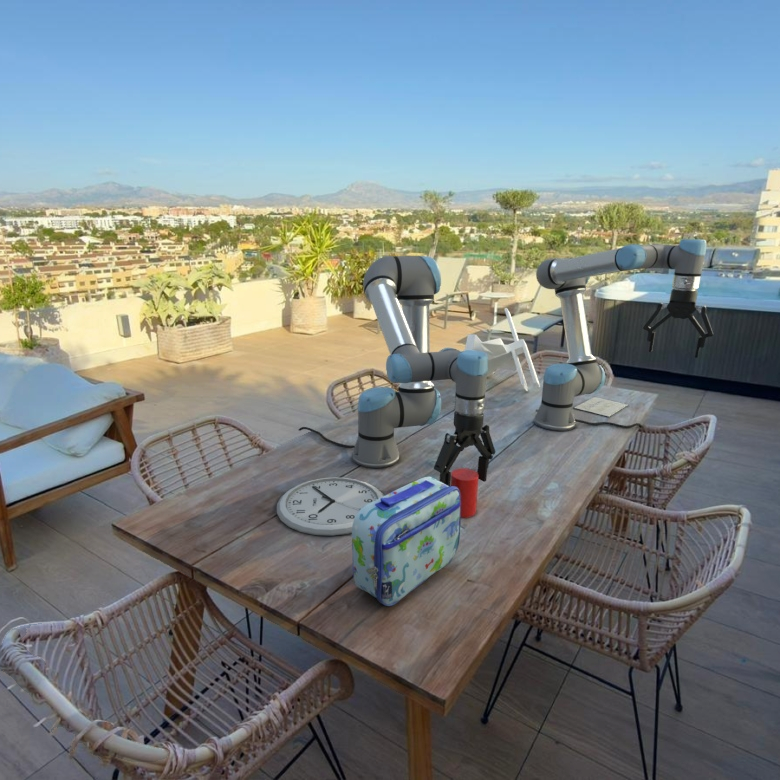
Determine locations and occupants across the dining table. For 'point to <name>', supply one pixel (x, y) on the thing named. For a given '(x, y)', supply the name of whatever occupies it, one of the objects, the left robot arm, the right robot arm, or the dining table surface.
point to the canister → (466, 489)
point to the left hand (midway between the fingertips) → (463, 486)
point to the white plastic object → (503, 352)
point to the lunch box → (405, 538)
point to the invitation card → (601, 406)
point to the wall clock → (325, 505)
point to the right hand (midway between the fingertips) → (673, 354)
